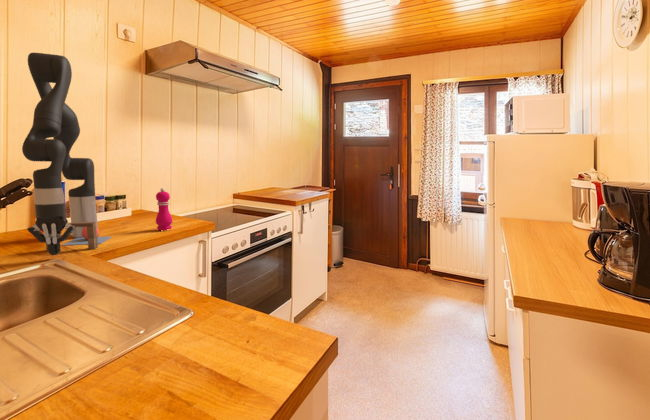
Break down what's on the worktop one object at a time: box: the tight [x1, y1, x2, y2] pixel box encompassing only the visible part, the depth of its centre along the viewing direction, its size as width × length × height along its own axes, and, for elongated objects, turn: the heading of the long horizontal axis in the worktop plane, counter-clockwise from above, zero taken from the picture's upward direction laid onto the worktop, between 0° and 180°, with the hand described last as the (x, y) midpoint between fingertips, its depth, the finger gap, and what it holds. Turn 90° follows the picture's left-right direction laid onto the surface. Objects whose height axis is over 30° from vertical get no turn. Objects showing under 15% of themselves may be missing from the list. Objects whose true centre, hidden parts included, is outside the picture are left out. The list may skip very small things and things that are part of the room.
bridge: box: [45, 222, 99, 252], centre depth 124 cm, size 3×15×10 cm, turn 105°
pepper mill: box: [155, 187, 173, 231], centre depth 161 cm, size 7×7×20 cm
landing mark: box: [62, 236, 112, 246], centre depth 138 cm, size 13×13×1 cm
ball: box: [82, 227, 100, 240], centre depth 139 cm, size 6×6×6 cm
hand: (54, 254), depth 112 cm, fingers closed
